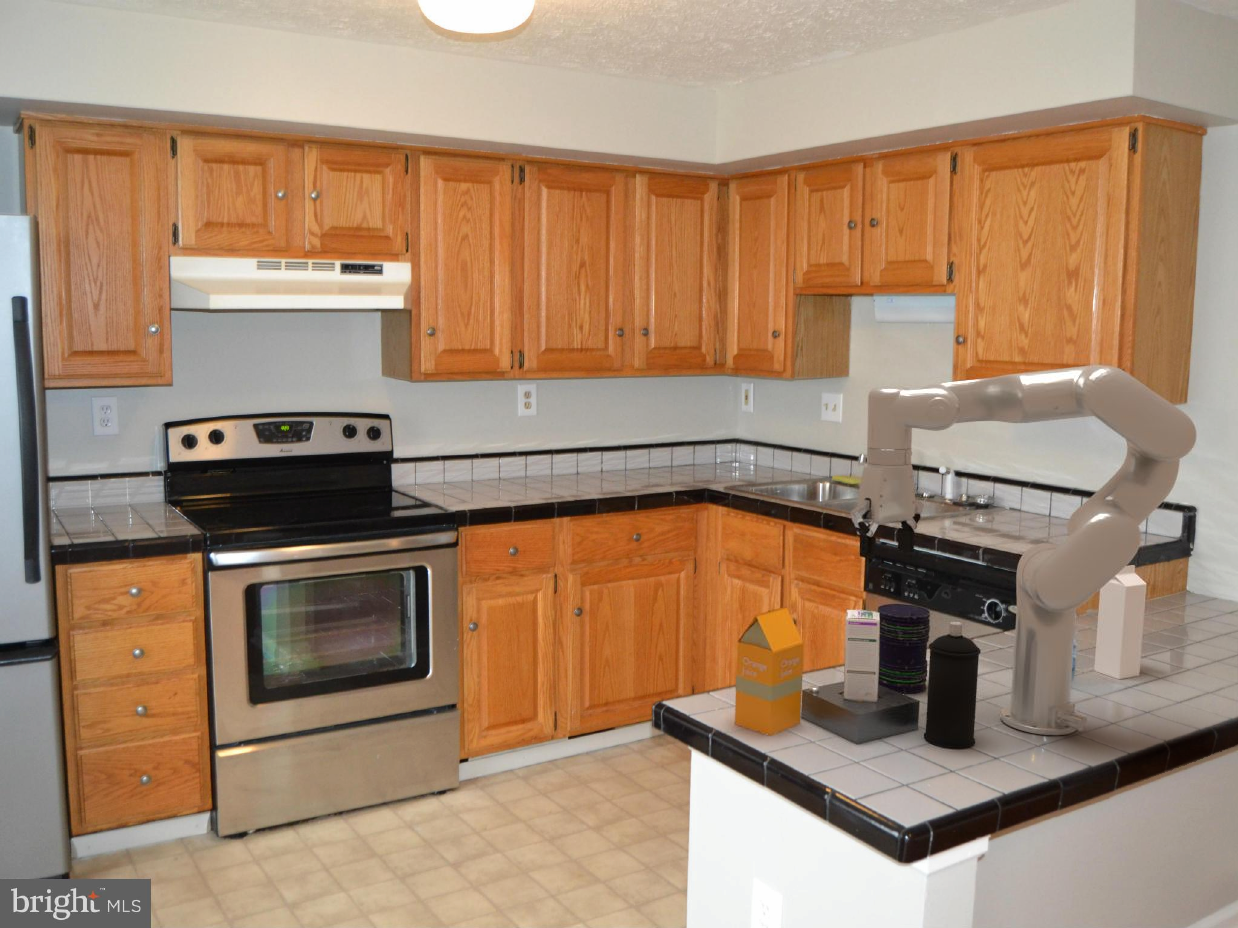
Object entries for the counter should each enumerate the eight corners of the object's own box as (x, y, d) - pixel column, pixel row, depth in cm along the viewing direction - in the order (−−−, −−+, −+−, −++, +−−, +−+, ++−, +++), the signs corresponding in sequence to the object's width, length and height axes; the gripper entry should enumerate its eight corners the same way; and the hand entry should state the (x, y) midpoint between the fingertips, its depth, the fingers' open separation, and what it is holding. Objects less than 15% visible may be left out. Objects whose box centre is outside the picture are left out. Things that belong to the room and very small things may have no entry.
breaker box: (918, 729, 185) (919, 697, 184) (857, 744, 178) (858, 711, 177) (860, 704, 197) (861, 674, 196) (801, 717, 190) (802, 686, 189)
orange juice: (801, 723, 187) (805, 610, 184) (770, 736, 181) (774, 619, 178) (764, 711, 192) (768, 601, 190) (733, 723, 186) (737, 610, 184)
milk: (1093, 671, 219) (1100, 564, 216) (1114, 667, 222) (1121, 561, 219) (1119, 680, 214) (1127, 570, 211) (1140, 675, 216) (1148, 567, 214)
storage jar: (863, 680, 211) (867, 605, 209) (907, 676, 214) (911, 602, 212) (891, 697, 201) (895, 618, 199) (937, 692, 204) (941, 615, 202)
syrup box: (877, 702, 183) (882, 619, 181) (842, 699, 184) (846, 616, 183) (877, 691, 189) (881, 610, 187) (842, 688, 190) (846, 608, 188)
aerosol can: (968, 753, 175) (975, 632, 172) (917, 742, 179) (923, 624, 177) (980, 737, 182) (987, 621, 179) (931, 727, 186) (937, 614, 184)
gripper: (906, 452, 196) (904, 545, 198) (837, 459, 187) (836, 556, 189) (939, 456, 190) (936, 552, 192) (870, 463, 181) (868, 564, 183)
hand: (886, 554), depth 191 cm, fingers open, 9 cm apart
